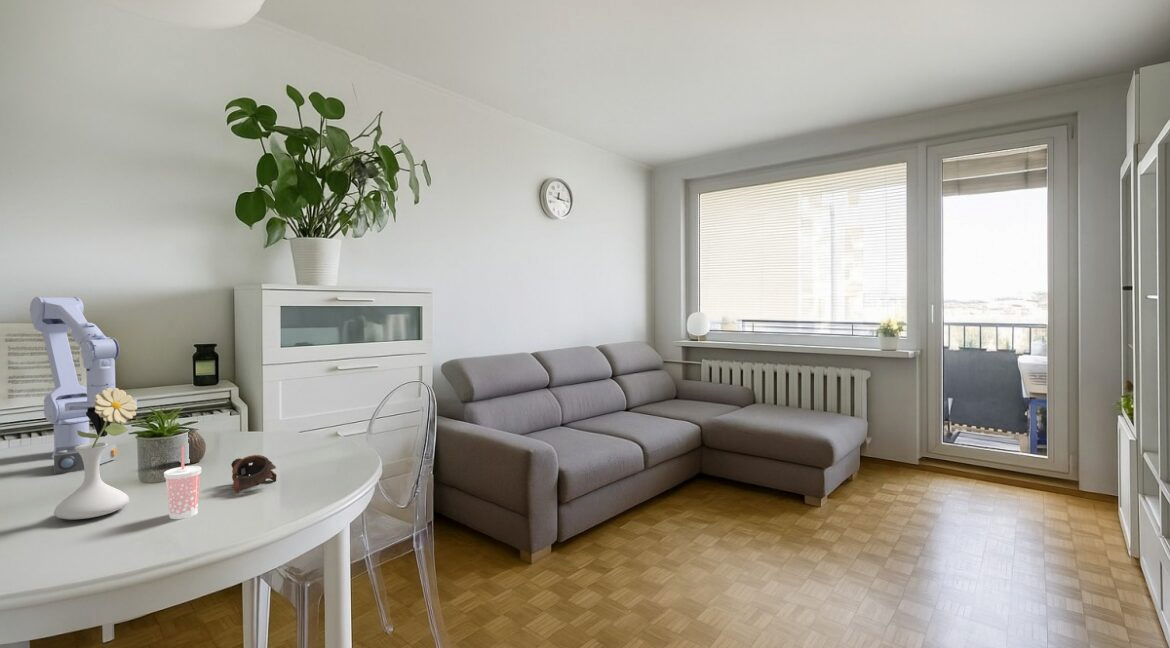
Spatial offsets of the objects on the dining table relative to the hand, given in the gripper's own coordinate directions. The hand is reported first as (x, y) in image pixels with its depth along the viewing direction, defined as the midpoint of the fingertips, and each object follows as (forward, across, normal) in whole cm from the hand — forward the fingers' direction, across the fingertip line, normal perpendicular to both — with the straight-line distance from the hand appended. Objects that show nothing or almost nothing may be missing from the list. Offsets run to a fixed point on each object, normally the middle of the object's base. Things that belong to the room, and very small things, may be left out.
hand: (102, 436), depth 147 cm
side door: (+6, +1, -3) cm, 7 cm away
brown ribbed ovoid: (+7, +21, -9) cm, 24 cm away
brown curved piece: (+7, +39, -36) cm, 54 cm away
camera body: (+7, -5, -3) cm, 9 cm away
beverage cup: (+7, +30, -51) cm, 60 cm away
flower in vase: (+7, +14, -44) cm, 46 cm away
